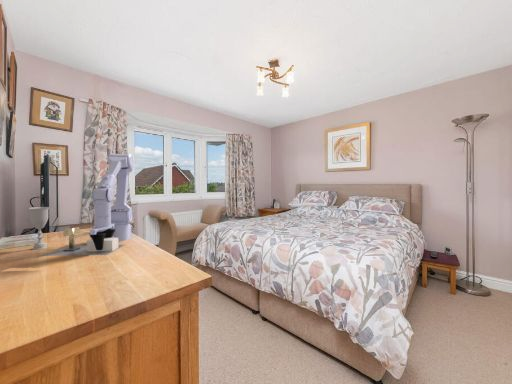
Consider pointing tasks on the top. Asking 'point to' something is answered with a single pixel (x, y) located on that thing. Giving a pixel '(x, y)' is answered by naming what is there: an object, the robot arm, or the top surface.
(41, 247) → the chalice
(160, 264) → the top surface
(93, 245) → the cover
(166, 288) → the top surface
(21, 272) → the top surface
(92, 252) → the plate
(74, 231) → the t key
